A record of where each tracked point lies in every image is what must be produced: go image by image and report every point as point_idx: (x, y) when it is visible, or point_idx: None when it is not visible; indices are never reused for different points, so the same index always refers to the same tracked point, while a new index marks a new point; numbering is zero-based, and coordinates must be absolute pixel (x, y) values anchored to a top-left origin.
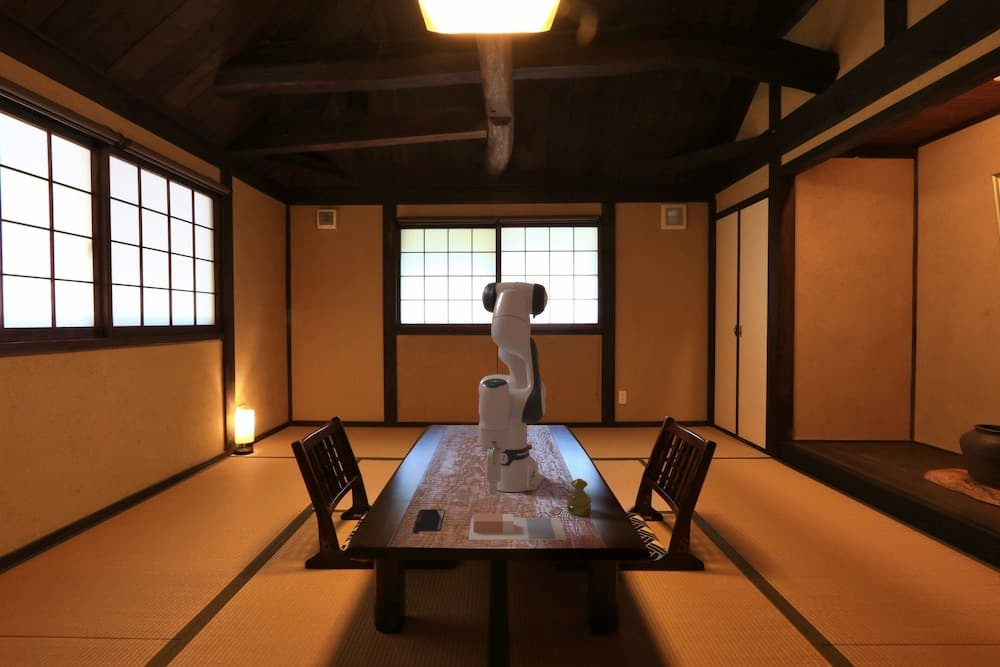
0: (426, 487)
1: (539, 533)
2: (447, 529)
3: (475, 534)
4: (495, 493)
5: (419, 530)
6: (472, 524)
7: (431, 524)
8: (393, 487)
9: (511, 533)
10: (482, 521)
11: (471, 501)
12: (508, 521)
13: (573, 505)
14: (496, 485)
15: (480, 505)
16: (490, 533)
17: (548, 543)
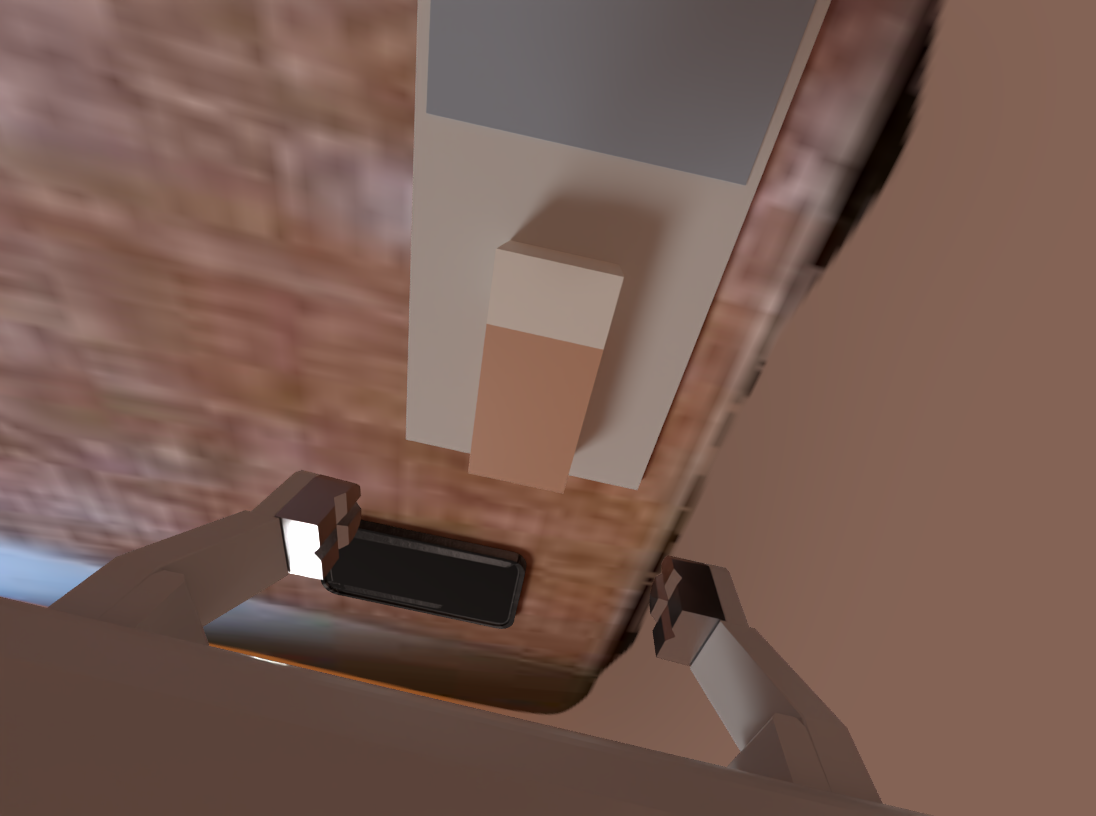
0: (66, 534)
1: (700, 72)
2: (497, 530)
3: (594, 456)
4: (722, 577)
5: (514, 614)
6: None
7: (462, 577)
8: None
9: (633, 282)
10: (573, 454)
11: (173, 391)
12: (612, 312)
13: None
14: (794, 678)
15: (218, 357)
16: (600, 392)
17: (835, 34)
